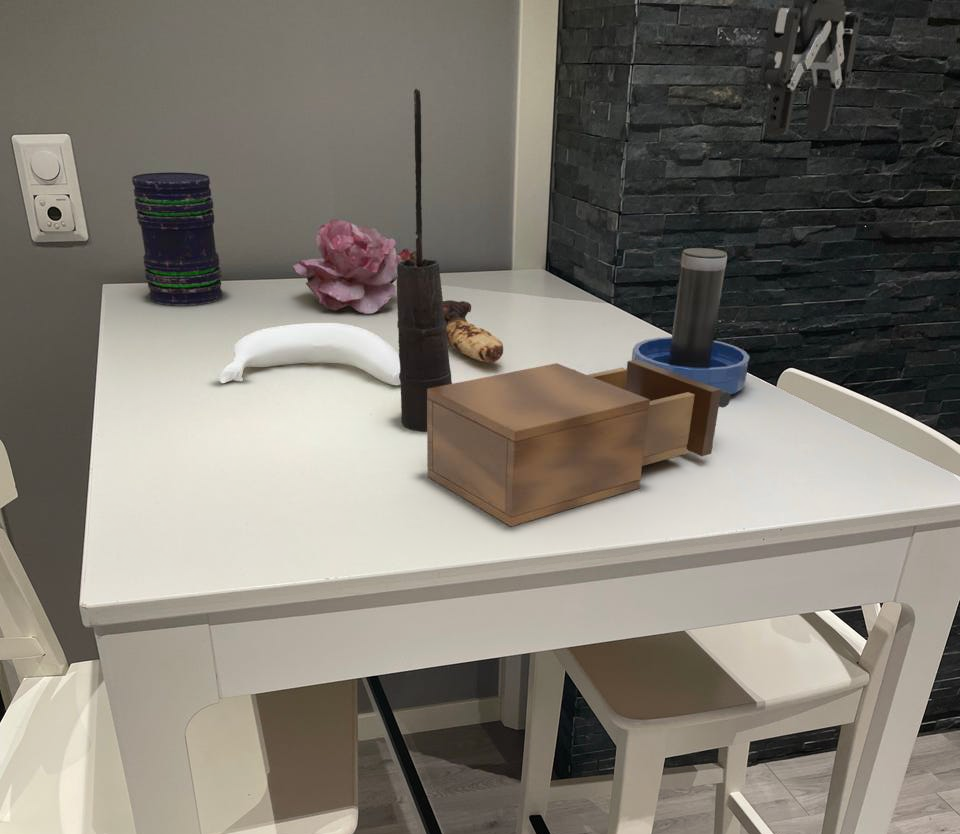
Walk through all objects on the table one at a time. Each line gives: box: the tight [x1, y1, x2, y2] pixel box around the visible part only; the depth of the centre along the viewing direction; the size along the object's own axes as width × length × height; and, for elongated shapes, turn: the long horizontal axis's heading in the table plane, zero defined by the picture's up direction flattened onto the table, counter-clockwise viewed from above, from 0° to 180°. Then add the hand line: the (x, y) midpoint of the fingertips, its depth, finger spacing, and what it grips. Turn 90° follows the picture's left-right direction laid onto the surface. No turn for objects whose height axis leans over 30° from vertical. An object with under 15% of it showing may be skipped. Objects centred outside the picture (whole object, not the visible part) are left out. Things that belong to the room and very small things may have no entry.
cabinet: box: [426, 362, 650, 527], centre depth 79 cm, size 14×12×8 cm
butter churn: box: [396, 88, 453, 432], centre depth 87 cm, size 9×10×28 cm
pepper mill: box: [668, 247, 728, 368], centre depth 102 cm, size 4×4×13 cm
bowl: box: [631, 336, 751, 395], centre depth 104 cm, size 12×12×4 cm
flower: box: [292, 218, 411, 315], centre depth 130 cm, size 15×15×10 cm
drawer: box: [587, 359, 732, 467], centre depth 85 cm, size 17×10×6 cm, turn 126°
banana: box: [218, 322, 401, 386], centre depth 103 cm, size 5×19×15 cm
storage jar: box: [131, 171, 223, 307], centre depth 129 cm, size 10×10×15 cm
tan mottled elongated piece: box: [443, 299, 504, 363], centre depth 112 cm, size 9×5×18 cm
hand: (796, 132), depth 98 cm, fingers open, 8 cm apart
